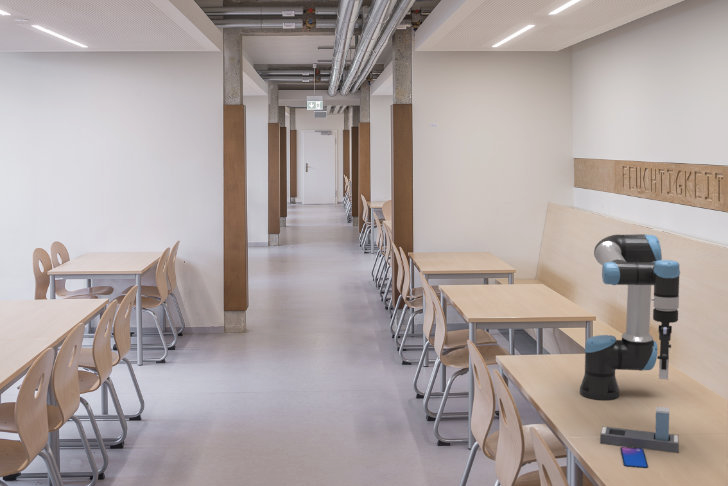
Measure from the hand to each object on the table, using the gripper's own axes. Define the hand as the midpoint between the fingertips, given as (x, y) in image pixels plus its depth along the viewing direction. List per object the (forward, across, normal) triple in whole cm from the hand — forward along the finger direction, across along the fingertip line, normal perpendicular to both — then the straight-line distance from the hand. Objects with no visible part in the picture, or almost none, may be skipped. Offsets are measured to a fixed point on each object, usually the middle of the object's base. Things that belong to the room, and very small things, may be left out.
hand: (663, 373), depth 245 cm
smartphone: (+25, +13, -8) cm, 30 cm away
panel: (+25, 0, -7) cm, 26 cm away
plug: (+25, 0, 0) cm, 25 cm away
